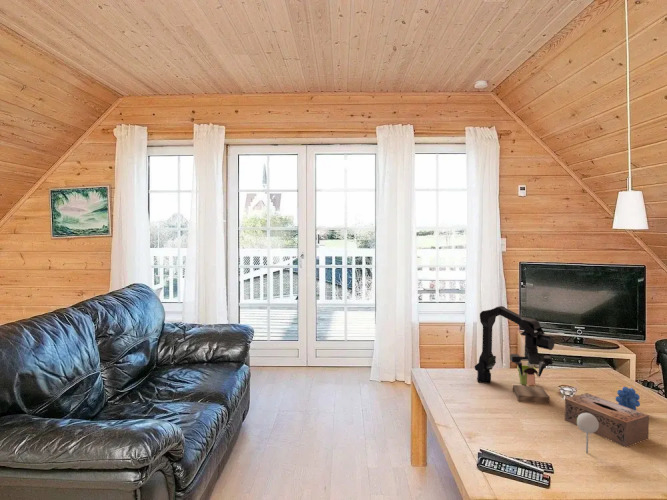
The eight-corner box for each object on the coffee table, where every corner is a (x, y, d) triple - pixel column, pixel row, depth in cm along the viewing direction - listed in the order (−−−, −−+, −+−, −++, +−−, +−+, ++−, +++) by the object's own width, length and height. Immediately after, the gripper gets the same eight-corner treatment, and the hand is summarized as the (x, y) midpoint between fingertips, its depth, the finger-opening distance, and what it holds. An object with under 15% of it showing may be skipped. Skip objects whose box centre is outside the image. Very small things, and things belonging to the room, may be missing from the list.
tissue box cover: (648, 439, 170) (649, 415, 170) (625, 447, 164) (626, 422, 164) (586, 414, 194) (586, 393, 193) (564, 420, 188) (565, 398, 187)
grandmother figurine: (535, 384, 216) (536, 359, 215) (539, 387, 212) (540, 362, 211) (520, 384, 216) (521, 360, 215) (524, 387, 212) (525, 362, 211)
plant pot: (512, 382, 234) (513, 366, 234) (525, 379, 238) (525, 364, 238) (527, 387, 226) (527, 371, 225) (539, 385, 230) (539, 369, 229)
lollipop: (578, 446, 166) (578, 408, 165) (599, 451, 161) (600, 412, 160) (574, 453, 160) (575, 414, 159) (596, 459, 156) (597, 419, 155)
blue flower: (623, 417, 190) (623, 390, 189) (611, 411, 197) (612, 385, 196) (647, 415, 191) (647, 389, 191) (634, 409, 198) (635, 384, 197)
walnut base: (518, 401, 209) (518, 395, 208) (512, 390, 222) (512, 384, 222) (549, 403, 206) (549, 397, 205) (541, 392, 219) (541, 386, 219)
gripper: (514, 348, 207) (513, 380, 208) (556, 350, 203) (555, 383, 204) (510, 342, 218) (509, 372, 219) (549, 344, 214) (549, 375, 215)
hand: (530, 376), depth 214 cm, fingers closed on grandmother figurine, 8 cm apart
